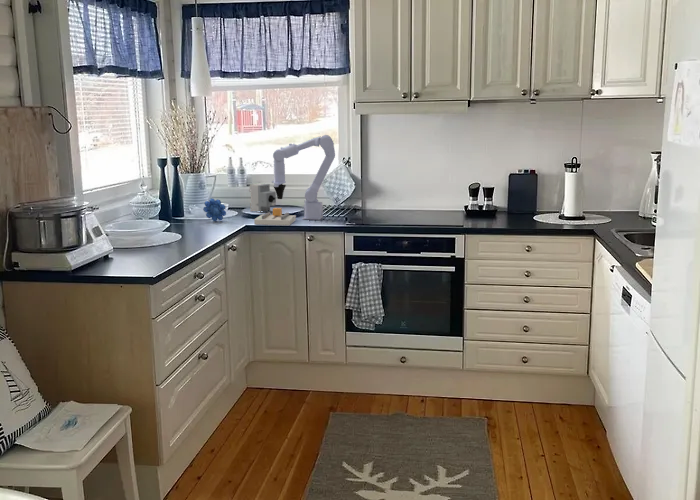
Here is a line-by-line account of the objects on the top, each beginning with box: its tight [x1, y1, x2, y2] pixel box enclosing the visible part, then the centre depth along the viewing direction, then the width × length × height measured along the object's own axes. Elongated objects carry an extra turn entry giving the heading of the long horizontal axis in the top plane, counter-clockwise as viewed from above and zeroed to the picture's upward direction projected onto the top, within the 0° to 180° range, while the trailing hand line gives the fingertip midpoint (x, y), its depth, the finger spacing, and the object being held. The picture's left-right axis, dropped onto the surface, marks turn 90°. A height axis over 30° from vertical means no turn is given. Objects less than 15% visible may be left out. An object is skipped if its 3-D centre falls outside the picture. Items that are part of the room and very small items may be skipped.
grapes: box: [202, 197, 227, 222], centre depth 367 cm, size 12×7×12 cm, turn 109°
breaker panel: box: [254, 211, 297, 226], centre depth 366 cm, size 18×14×4 cm
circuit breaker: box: [248, 182, 277, 212], centre depth 394 cm, size 8×14×15 cm, turn 53°
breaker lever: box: [272, 207, 283, 216], centre depth 369 cm, size 4×3×4 cm
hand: (280, 198), depth 373 cm, fingers closed
